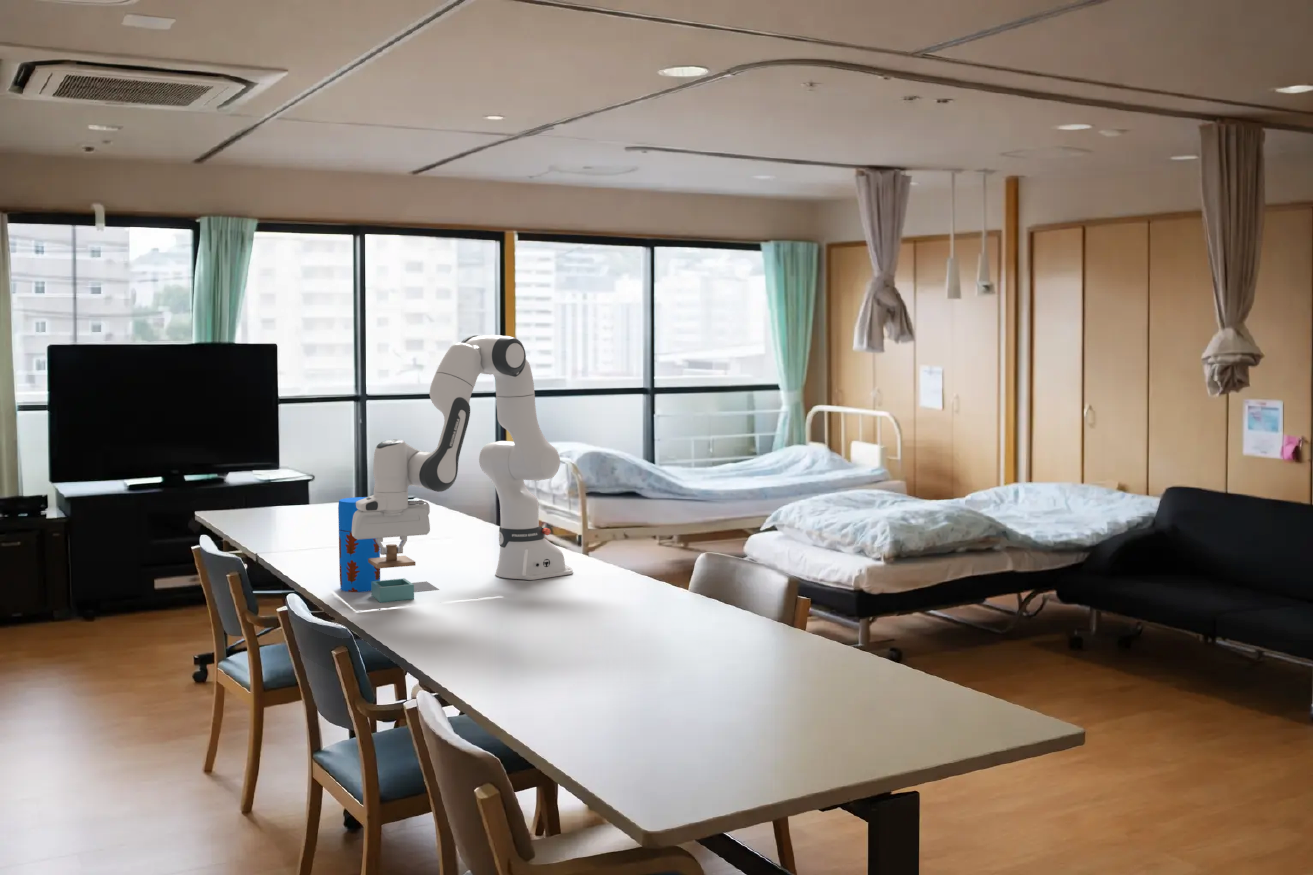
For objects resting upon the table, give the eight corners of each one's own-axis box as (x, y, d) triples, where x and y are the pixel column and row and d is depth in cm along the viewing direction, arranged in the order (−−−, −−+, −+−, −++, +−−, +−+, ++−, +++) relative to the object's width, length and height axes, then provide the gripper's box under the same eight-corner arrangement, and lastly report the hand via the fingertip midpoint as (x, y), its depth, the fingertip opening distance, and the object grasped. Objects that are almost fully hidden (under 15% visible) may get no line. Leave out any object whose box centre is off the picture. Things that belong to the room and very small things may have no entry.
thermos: (370, 594, 322) (368, 503, 320) (333, 593, 324) (331, 501, 322) (386, 586, 333) (385, 497, 331) (350, 585, 335) (349, 496, 333)
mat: (426, 583, 337) (426, 581, 337) (439, 591, 327) (439, 589, 326) (384, 587, 332) (384, 585, 332) (396, 596, 321) (396, 593, 321)
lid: (405, 559, 322) (405, 540, 322) (415, 565, 313) (415, 546, 313) (368, 562, 318) (367, 543, 317) (377, 568, 309) (377, 549, 308)
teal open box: (404, 594, 323) (404, 578, 322) (414, 601, 315) (413, 584, 314) (371, 598, 318) (371, 581, 318) (380, 604, 311) (379, 587, 310)
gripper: (426, 498, 322) (426, 548, 323) (349, 502, 312) (350, 554, 313) (433, 500, 316) (433, 552, 317) (355, 505, 307) (356, 558, 308)
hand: (391, 553), depth 315 cm, fingers closed on lid, 3 cm apart
